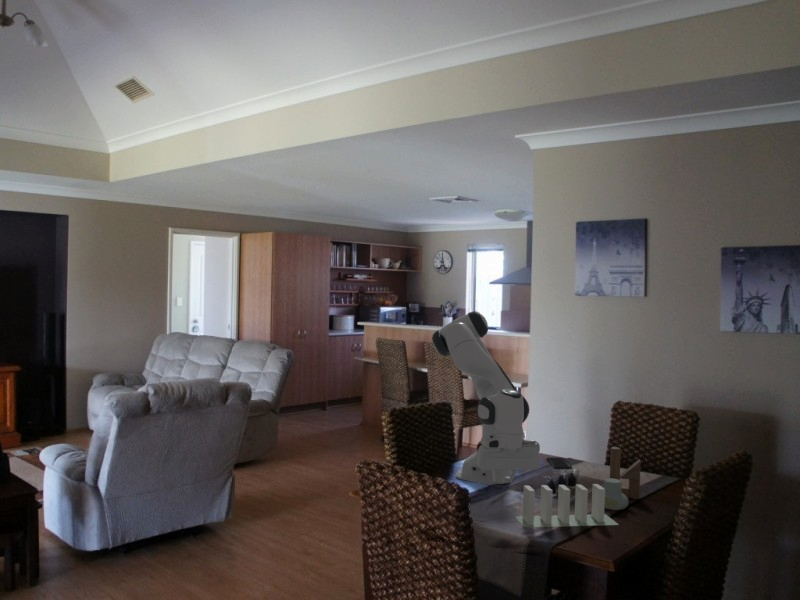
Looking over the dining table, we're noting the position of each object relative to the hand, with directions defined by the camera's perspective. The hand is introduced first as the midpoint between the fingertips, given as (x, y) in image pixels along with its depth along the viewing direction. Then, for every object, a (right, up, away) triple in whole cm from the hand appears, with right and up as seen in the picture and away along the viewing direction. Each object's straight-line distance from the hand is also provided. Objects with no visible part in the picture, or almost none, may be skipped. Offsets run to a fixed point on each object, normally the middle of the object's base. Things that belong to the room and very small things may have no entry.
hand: (507, 482), depth 220 cm
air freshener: (+40, -15, +20) cm, 47 cm away
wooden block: (+49, -14, +33) cm, 61 cm away
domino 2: (+13, -13, +2) cm, 19 cm away
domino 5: (+31, -14, +5) cm, 34 cm away
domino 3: (+19, -13, +3) cm, 23 cm away
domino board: (+20, -14, +3) cm, 25 cm away
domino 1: (+7, -13, +1) cm, 15 cm away
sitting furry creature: (+20, -12, +90) cm, 93 cm away
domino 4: (+25, -13, +4) cm, 28 cm away
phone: (+35, -13, +77) cm, 85 cm away
